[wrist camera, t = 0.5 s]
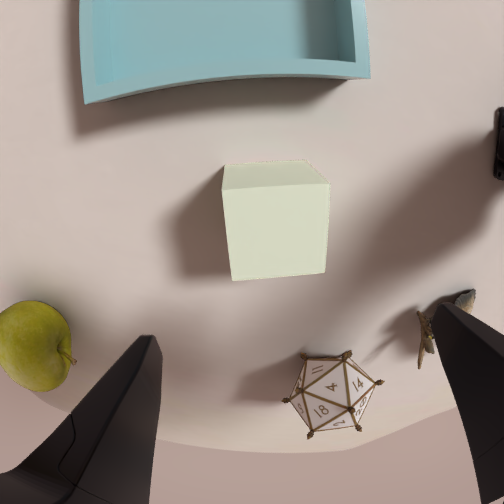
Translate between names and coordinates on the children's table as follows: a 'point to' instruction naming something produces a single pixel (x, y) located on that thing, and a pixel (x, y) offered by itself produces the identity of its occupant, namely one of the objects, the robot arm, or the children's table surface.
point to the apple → (35, 345)
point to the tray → (216, 42)
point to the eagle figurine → (426, 333)
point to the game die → (331, 393)
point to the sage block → (275, 219)
